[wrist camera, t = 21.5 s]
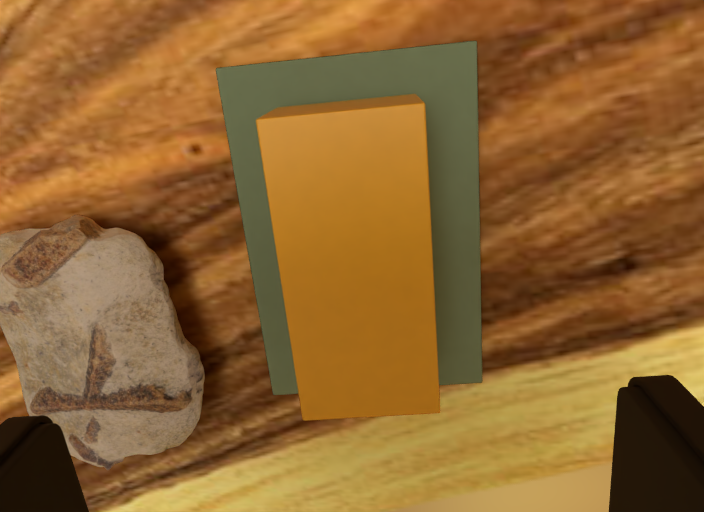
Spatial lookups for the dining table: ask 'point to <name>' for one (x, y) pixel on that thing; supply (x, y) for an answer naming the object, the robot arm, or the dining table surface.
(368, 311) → the bar
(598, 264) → the dining table surface
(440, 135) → the mat
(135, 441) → the stone
